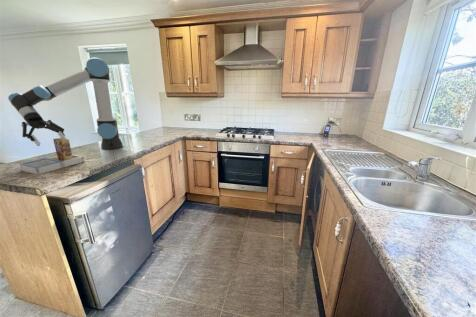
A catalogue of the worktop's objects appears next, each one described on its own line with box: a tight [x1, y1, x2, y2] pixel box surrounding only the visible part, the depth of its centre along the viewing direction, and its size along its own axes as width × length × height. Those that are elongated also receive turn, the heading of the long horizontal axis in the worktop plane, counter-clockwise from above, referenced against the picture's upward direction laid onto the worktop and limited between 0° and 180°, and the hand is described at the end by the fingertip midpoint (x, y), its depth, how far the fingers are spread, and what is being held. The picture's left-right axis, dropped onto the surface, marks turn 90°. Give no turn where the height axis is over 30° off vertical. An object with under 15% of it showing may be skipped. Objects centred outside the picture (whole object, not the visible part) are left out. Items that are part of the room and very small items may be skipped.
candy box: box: [53, 137, 73, 161], centre depth 120 cm, size 9×4×15 cm, turn 66°
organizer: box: [19, 153, 85, 175], centre depth 116 cm, size 24×14×4 cm, turn 161°
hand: (53, 142), depth 119 cm, fingers open, 13 cm apart
